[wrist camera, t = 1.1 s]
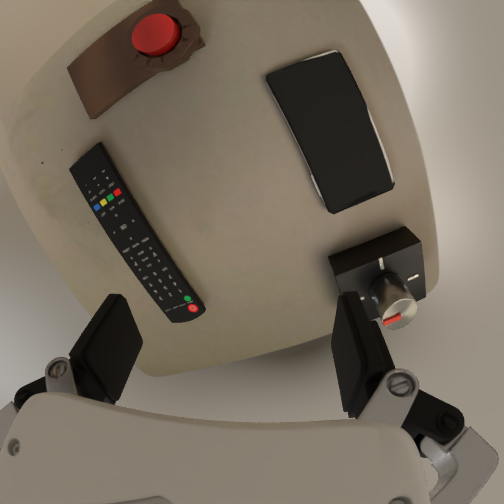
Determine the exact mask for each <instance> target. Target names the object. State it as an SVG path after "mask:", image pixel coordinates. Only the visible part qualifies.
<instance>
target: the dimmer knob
mask: <svg viewBox="0 0 504 504" xmlns="http://www.w3.org/2000/svg"><path fill="white" fill-rule="evenodd" d="M370 297H371V299H372V301H373V303H374V305H375V308H376V310H377V312H378V314H379V317H380V319H381V321H382V323H383V325H384V326H385V327H386V328H387V329H391V330H395V329H400V328H402V327H404V326H406V325H408V324H409V323H410V322H411V321H412V320H413V319H414V318H415V316H416V314H417V311H418V304H417V302H416V300H415V299H414V297H413V296H412V294H411V293H410V291H409V289H408V288H407V286H406V285H405V283H404V282H403V280H402V279H401V277H400V276H399V275H397V274H395V273H387V274H384V275H382V276H380V277H378V278H377V279H376V280H375V281H374V282H373V284H372V286H371V288H370Z"/></svg>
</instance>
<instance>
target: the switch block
mask: <svg viewBox="0 0 504 504" xmlns="http://www.w3.org/2000/svg"><path fill="white" fill-rule="evenodd" d="M153 14H165V15H167V16H169V17H170V18H171V19H172V20H174V21H175V22H176V23H177V24H178V26H179V29H180V36H179V39H178V41H177V43H176V44H175V46H174V47H173V48H172V49H170V50H169V51H168V52H166V53H164V54H161V55H149V54H146V53H144V52H141V51H139V50H137V49H136V48H135V47H134V45H133V43H132V33H133V31H134V28H135V27H136V25H137V24H138V23H139V22H140V21H141V20H142V19H144V18H145V17H147V16H150V15H153ZM204 46H205V43H204V42H203V40H202V38H201V37H200V27H199V26H198V24H197V22H196V21H195V19H194V18H193V16H192V15H191V14H190V12H189V11H188V10H186V9H183V7H182V6H181V4H180V3H179V1H178V0H153V1H152V2H150V3H148V4H147V5H145V6H143V7H142V8H140V9H139V10H137V11H136V12H134V13H133V14H131V15H130V16H128V17H127V18H126V19H124V20H123V21H121V22H120V23H119V24H117V25H116V26H115V27H113V28H112V29H111V30H109V31H108V32H107V33H106V34H104V35H103V36H102V37H101V38H99V39H98V40H97V41H96V42H95V43H93V44H92V45H91V46H90V47H89V48H88V49H86V50H85V51H84V52H83V53H82V54H81V55H80V56H79V57H78V58H77V59H75V60H74V61H73V62H72V63H71V64H70V65H69V66H68V67H67V69H68V72H69V74H70V76H71V79H72V81H73V83H74V85H75V88H76V90H77V92H78V94H79V96H80V99H81V101H82V103H83V105H84V107H85V109H86V111H87V113H88V115H89V117H90V119H96V118H98V117H99V116H100V115H101V114H102V113H104V112H105V111H106V110H107V109H109V108H110V107H111V106H112V105H114V104H115V103H116V102H117V101H119V100H120V99H121V98H123V97H124V96H125V95H127V94H128V93H129V92H131V91H132V90H133V89H135V88H136V87H138V86H139V85H140V84H142V83H143V82H145V81H146V80H148V79H149V78H151V77H152V76H154V75H155V74H157V73H158V72H160V71H169V70H172V69H174V68H175V67H177V66H179V65H180V64H182V63H184V62H186V61H187V60H188V59H189V58H190V56H191V55H192V53H193V52H194V51H196V50H198V49H200V48H202V47H204Z"/></svg>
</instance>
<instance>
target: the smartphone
mask: <svg viewBox="0 0 504 504" xmlns="http://www.w3.org/2000/svg"><path fill="white" fill-rule="evenodd" d="M266 84H267V86H268V88H269V89H270V91H271V93H272V95H273V97H274V99H275V100H276V102H277V104H278V106H279V108H280V110H281V112H282V114H283V116H284V118H285V120H286V122H287V124H288V126H289V128H290V130H291V132H292V134H293V136H294V138H295V140H296V142H297V144H298V146H299V148H300V150H301V152H302V154H303V157H304V159H305V161H306V163H307V165H308V168H309V170H310V172H311V174H310V175H311V178H312V180H313V182H314V184H315V187H316V189H317V191H318V194H319V196H321V197H322V200H323V202H324V205H325V207H326V209H327V211H328V212H330V213H332V214H336V213H338V212H340V211H343V210H345V209H347V208H350V207H352V206H354V205H357V204H359V203H362V202H364V201H366V200H369V199H371V198H373V197H376V196H378V195H380V194H383V193H385V192H388V191H390V190H392V189H393V187H394V185H395V182H394V178H393V175H392V172H391V169H390V168H391V167H390V164H389V161H388V158H387V155H386V152H385V149H384V147H383V144H382V142H381V140H380V138H379V135H378V132H377V130H376V127H375V125H374V122H373V120H372V117H371V115H370V112H369V110H368V108H367V105H366V103H365V101H364V98H363V96H362V94H361V92H360V90H359V88H358V85H357V83H356V81H355V79H354V77H353V75H352V73H351V71H350V69H349V67H348V65H347V63H346V62H345V60H344V58H343V56H342V54H341V53H340V52H339V51H338V50H333V51H329V52H326V53H323V54H320V55H317V56H314V57H311V58H309V59H306V60H303V61H300V62H298V63H295V64H292V65H290V66H287V67H285V68H282V69H280V70H277V71H275V72H273V73H270V74H268V75H266Z"/></svg>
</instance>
